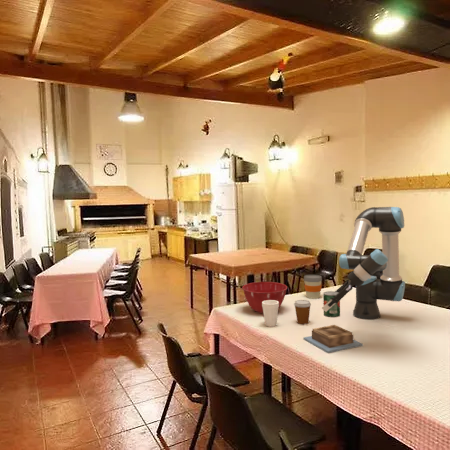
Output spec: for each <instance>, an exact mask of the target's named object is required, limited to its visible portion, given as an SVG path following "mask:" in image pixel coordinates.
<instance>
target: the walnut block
mask: <svg viewBox="0 0 450 450" xmlns="http://www.w3.org/2000/svg"><path fill="white" fill-rule="evenodd" d="M311 336H312V339H314V340H316V341H318V342H320V343H321V344H323V345H325V346H327V347H329V348H331V347H336V346H340V345H345V344H350V343H353V339H354V334H353V332H352V331H350V330H348V329H346V328H343V327H341V326H339V325H337V324H330V325H326V326H319V327H315V328H312V330H311Z"/></svg>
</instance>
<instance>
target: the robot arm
mask: <svg viewBox="0 0 450 450" xmlns="http://www.w3.org/2000/svg"><path fill="white" fill-rule="evenodd" d="M353 226H354V229H353V232H352V236H351V237H350V240H349V241H350V242H349V243H348V244H349V245H348V247H347V250H346V253H341V254H339V255H340V256H339V259H338V261H339V262H338V263H339V267H340V268H341V269H343V270H353V271H351V272H350V273H348V274H347V278H348V279H347V280H346V281H345V282H344V283H343V284H342V285H341V286H339V287H338V289H336V290H335V291H334V292H339V293H338V294H337V295H336V296H335V297H334V298H331V300H330V301H329V302H328V303H326V304H325V305H324V302H323V303H322V304H323V306H322V307H321V309H322V310H323V312H324V311H325V312H327V311H328V310H329V309H330V308H331V307H332V306H333V305H334V304H336V303H338V302H339V301H340V302H341V300H343V298H344V297H345V296H346V295H347V294H348V293H350V292H351V291H352V290H353V288H354V286H355V305H354V309H353V310H352V311H353V312H352V315H353V316H354V317H356V318H358V319H363V320H375V319H379V318H381V311H380V309H379V305H378V300H380V301H389V302H390V301H391V302H402V301H403V298H404V295H405V289H406V281H404V280H403V277H402V276H401V275H400V258H399V252H400V248H399V234H400V233H401V232H402V229H404V228H405V218H404V213H403V210H402V208H401V207H399V206H379V207H378V206H377V207H375V206H374V207H369V208H366V209H364V210H363V211H362V212H360V213H359V214H358V215H357V217H355V220H354V223H353ZM373 228H376V229H378V232H379V233H380V234H381V247H382V248H381V249H382V251H381V250H380V249H378V248H376V249H374V250H373V251H372V252H371V253H370V254H369V255H367V254H363V251H364V249H365V245H366V241H367V238H368V235H369V232H370V231H371V230H372V229H373ZM376 272H382V275H380V277H379V278H380V279H378V278H377V276H376V275H374V274H375V273H376Z"/></svg>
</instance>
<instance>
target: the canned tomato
mask: <svg viewBox="0 0 450 450" xmlns="http://www.w3.org/2000/svg"><path fill="white" fill-rule="evenodd" d="M338 293H339V292H335V291H332V290H331V291H324V292H322V294H323V295H322V296H323V298H322V299H323V303H324V304H323V306H324V305H325V304H326V303H328V302H329V301H330V300H331V298H334V297H335V296H336V295H337V294H338ZM323 316H324V317H326V318H339V317H341V300H340V301H339V302H338V303H336V304H334V305H333V306H332V307H331V308H330V309H329V310H328V311H327V312H325V311H324V310H323Z"/></svg>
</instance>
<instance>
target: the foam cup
mask: <svg viewBox="0 0 450 450" xmlns="http://www.w3.org/2000/svg"><path fill="white" fill-rule="evenodd" d="M262 307H263V313H262V314H263V318H264V324H265V326H266V327H270V328H271V327H277V323H278V313H279V309H278V307H279V302H278V301H275V300H266V301H263V302H262ZM279 308H280V307H279Z"/></svg>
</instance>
